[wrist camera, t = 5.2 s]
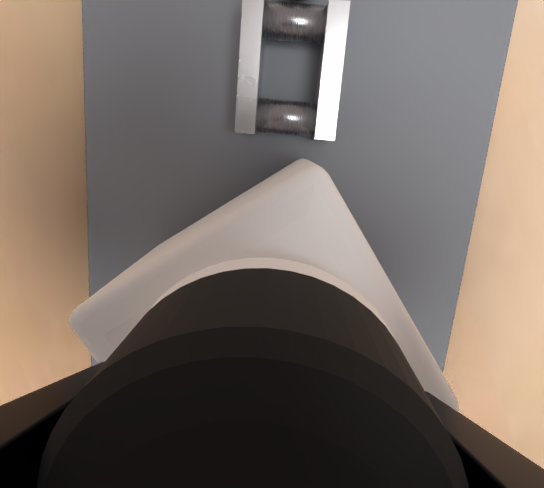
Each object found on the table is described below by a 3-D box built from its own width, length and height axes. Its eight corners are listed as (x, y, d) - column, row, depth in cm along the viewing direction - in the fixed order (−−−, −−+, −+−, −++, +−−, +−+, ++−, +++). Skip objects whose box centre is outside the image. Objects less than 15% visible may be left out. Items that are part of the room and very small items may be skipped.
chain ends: (284, 543, 21) (284, 583, 19) (215, 536, 21) (207, 576, 19) (359, -128, 14) (372, -172, 12) (255, -135, 14) (251, -181, 12)
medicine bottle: (153, 247, 16) (-168, 490, 5) (305, 154, 15) (364, 173, 4) (246, 384, 18) (171, 836, 6) (393, 306, 17) (641, 672, 5)
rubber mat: (401, 552, 21) (404, 562, 21) (99, 523, 22) (95, 532, 21) (535, -122, 14) (544, -131, 14) (84, -156, 14) (77, -166, 14)
